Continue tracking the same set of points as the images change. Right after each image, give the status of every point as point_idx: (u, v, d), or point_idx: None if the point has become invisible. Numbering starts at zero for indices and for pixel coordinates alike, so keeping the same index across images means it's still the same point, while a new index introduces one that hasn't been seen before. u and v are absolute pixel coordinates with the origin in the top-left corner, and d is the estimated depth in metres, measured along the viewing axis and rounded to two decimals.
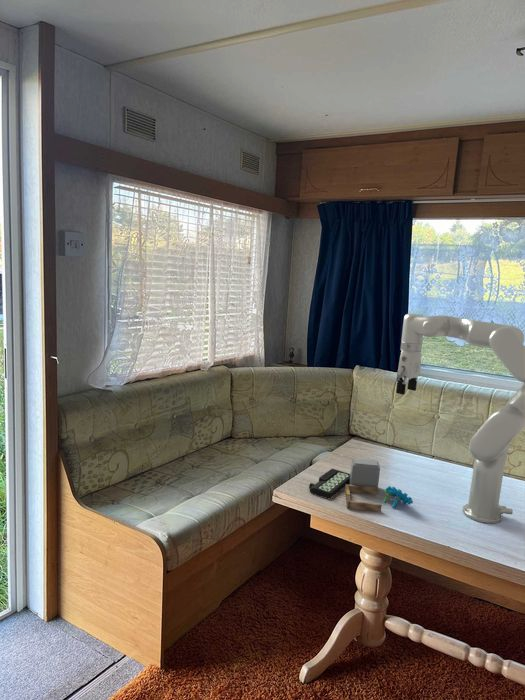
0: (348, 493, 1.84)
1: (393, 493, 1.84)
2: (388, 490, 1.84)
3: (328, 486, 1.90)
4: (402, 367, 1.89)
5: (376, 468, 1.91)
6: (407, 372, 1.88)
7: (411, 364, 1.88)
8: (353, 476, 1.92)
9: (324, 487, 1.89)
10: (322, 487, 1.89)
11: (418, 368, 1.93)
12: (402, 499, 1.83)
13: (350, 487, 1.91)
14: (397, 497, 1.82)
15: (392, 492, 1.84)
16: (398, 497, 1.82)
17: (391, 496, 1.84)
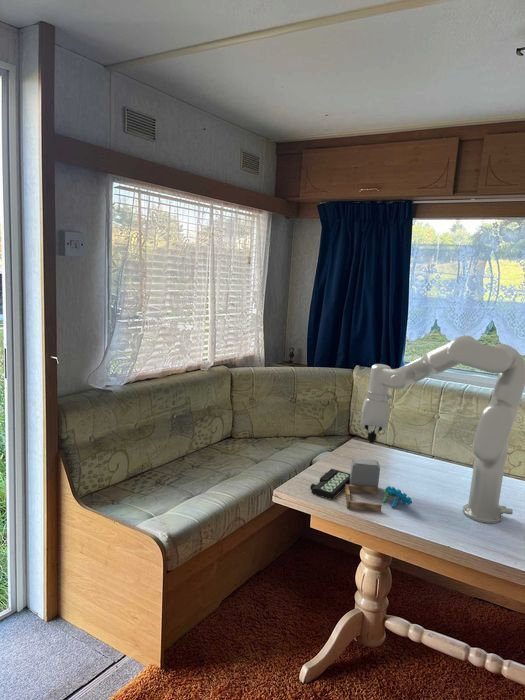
0: (348, 493, 1.84)
1: (393, 493, 1.84)
2: (388, 490, 1.84)
3: (330, 486, 1.90)
4: None
5: (376, 468, 1.91)
6: None
7: None
8: (353, 476, 1.92)
9: (326, 487, 1.89)
10: (324, 487, 1.89)
11: None
12: (402, 499, 1.83)
13: (350, 487, 1.91)
14: (396, 497, 1.82)
15: (392, 492, 1.83)
16: (397, 497, 1.82)
17: (391, 496, 1.84)
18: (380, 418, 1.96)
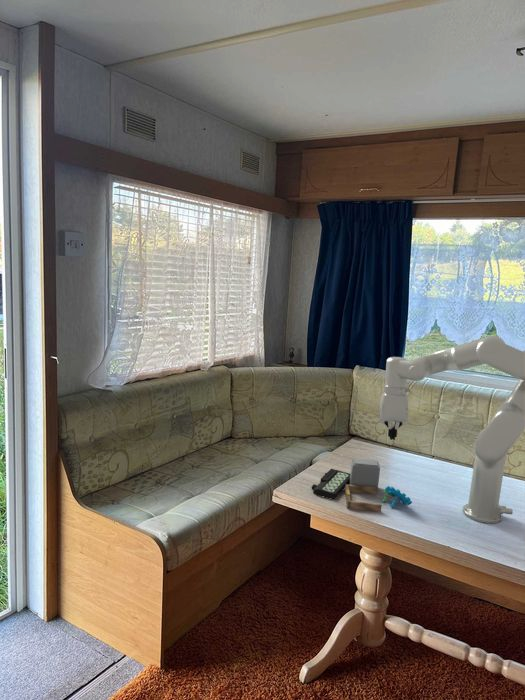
0: (348, 493, 1.84)
1: (392, 493, 1.84)
2: (387, 490, 1.84)
3: (331, 487, 1.90)
4: None
5: (376, 468, 1.91)
6: None
7: None
8: (353, 476, 1.92)
9: (327, 488, 1.89)
10: (325, 488, 1.89)
11: None
12: (401, 499, 1.83)
13: (350, 487, 1.91)
14: (396, 497, 1.82)
15: (391, 492, 1.83)
16: (397, 497, 1.82)
17: (390, 496, 1.84)
18: (400, 413, 1.89)
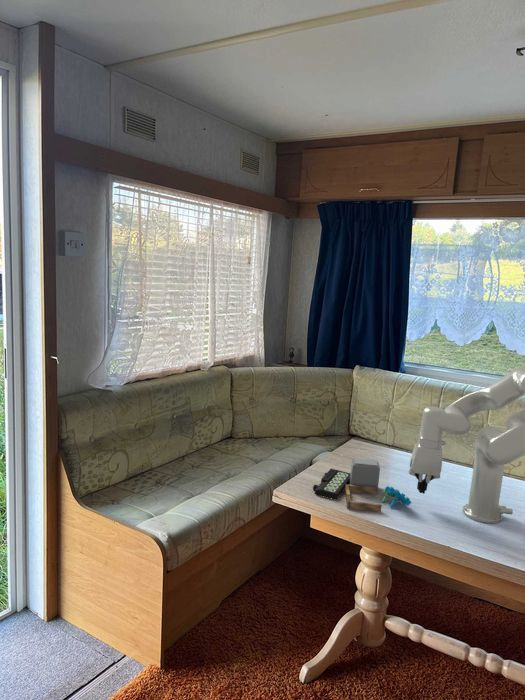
0: (348, 493, 1.84)
1: (392, 493, 1.84)
2: (387, 490, 1.84)
3: (332, 487, 1.90)
4: None
5: (376, 468, 1.91)
6: None
7: None
8: (353, 476, 1.92)
9: (329, 488, 1.89)
10: (327, 488, 1.89)
11: None
12: (401, 499, 1.83)
13: (350, 487, 1.91)
14: (395, 497, 1.82)
15: (391, 492, 1.83)
16: (396, 497, 1.82)
17: (389, 496, 1.84)
18: (433, 466, 1.78)
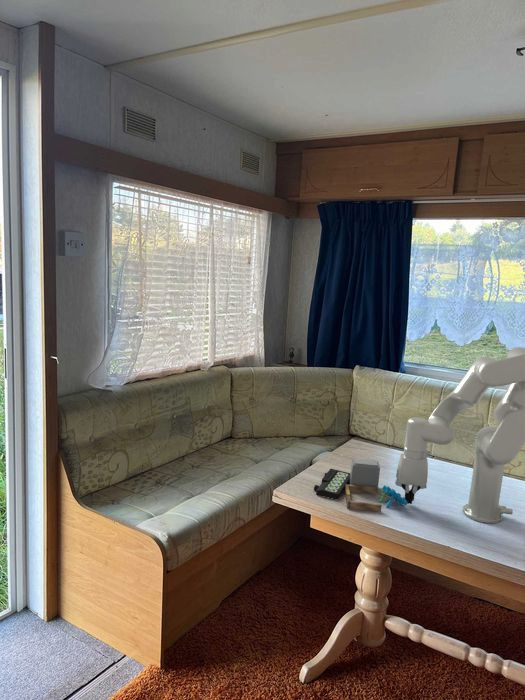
0: (348, 493, 1.84)
1: (389, 493, 1.84)
2: (384, 489, 1.85)
3: (333, 487, 1.90)
4: None
5: (376, 468, 1.91)
6: None
7: None
8: (353, 476, 1.92)
9: (330, 488, 1.89)
10: (328, 488, 1.88)
11: None
12: (398, 499, 1.83)
13: (350, 487, 1.91)
14: (392, 497, 1.82)
15: (388, 492, 1.84)
16: (393, 497, 1.82)
17: (387, 496, 1.84)
18: (418, 477, 1.79)
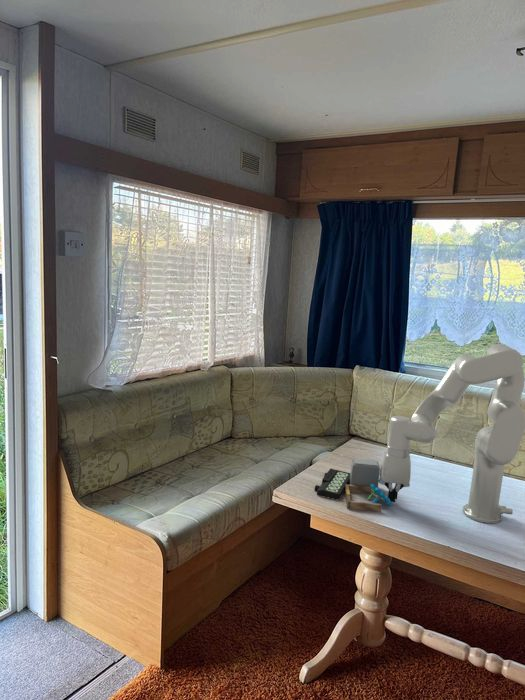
0: (348, 493, 1.84)
1: (376, 492, 1.84)
2: (372, 488, 1.85)
3: (334, 487, 1.90)
4: None
5: (376, 468, 1.91)
6: None
7: None
8: (353, 476, 1.92)
9: (331, 488, 1.89)
10: (329, 488, 1.88)
11: None
12: (384, 499, 1.82)
13: (350, 487, 1.91)
14: (378, 496, 1.82)
15: (375, 490, 1.84)
16: (378, 496, 1.82)
17: (374, 494, 1.84)
18: (401, 475, 1.80)
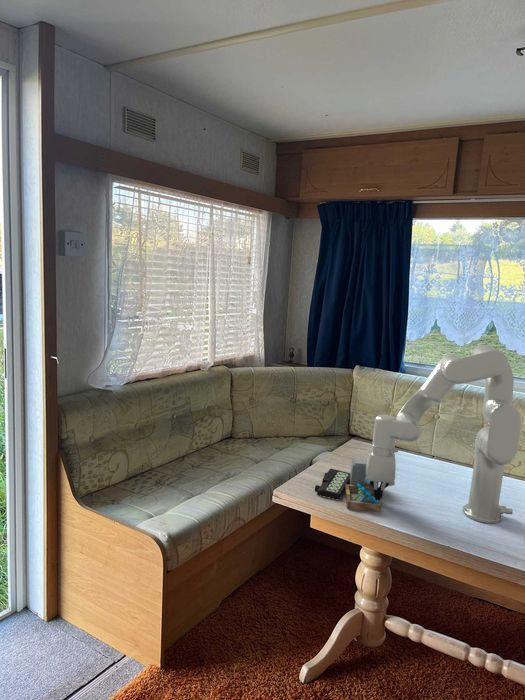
0: (348, 493, 1.84)
1: None
2: None
3: (334, 487, 1.90)
4: None
5: None
6: None
7: None
8: (353, 476, 1.92)
9: (331, 488, 1.89)
10: (329, 488, 1.88)
11: None
12: (371, 499, 1.82)
13: (350, 487, 1.91)
14: (364, 495, 1.81)
15: None
16: (365, 496, 1.81)
17: (361, 494, 1.84)
18: (386, 474, 1.80)
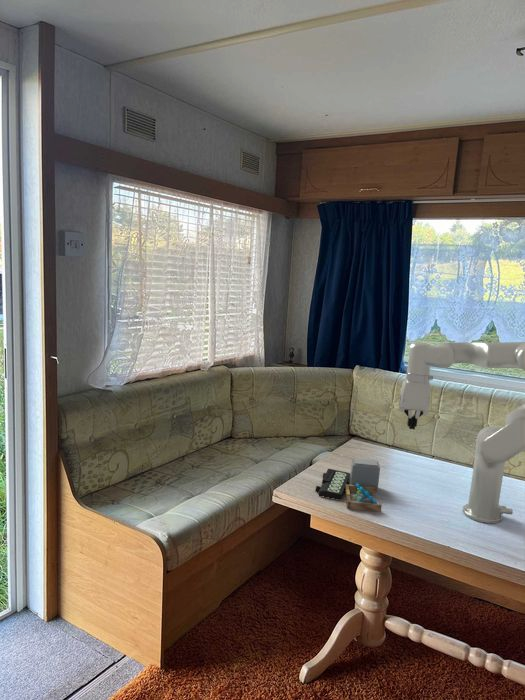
0: (348, 493, 1.84)
1: None
2: None
3: (335, 487, 1.90)
4: None
5: (376, 468, 1.91)
6: None
7: None
8: (353, 476, 1.92)
9: (332, 489, 1.88)
10: (330, 489, 1.88)
11: None
12: None
13: (350, 487, 1.91)
14: (363, 495, 1.82)
15: None
16: (363, 495, 1.81)
17: (359, 494, 1.84)
18: (421, 401, 1.80)
